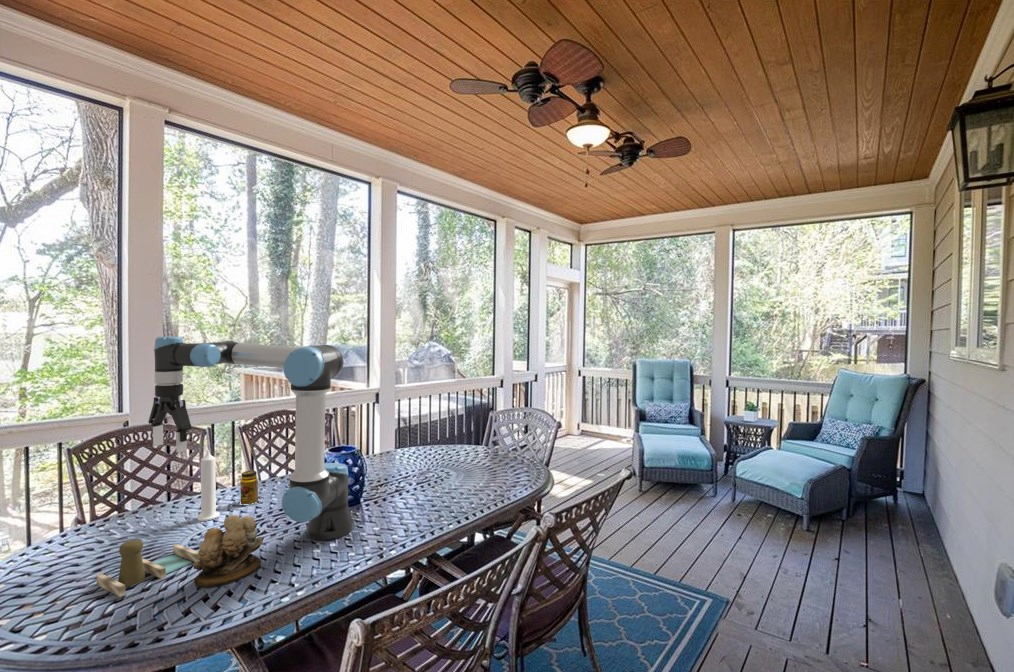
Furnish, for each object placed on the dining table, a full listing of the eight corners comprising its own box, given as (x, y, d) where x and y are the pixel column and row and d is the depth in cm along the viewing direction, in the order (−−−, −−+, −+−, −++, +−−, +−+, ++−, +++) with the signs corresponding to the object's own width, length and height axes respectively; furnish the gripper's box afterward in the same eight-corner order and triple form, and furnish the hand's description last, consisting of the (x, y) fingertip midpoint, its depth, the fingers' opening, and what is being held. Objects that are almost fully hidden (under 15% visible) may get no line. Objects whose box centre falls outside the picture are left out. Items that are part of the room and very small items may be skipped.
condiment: (238, 506, 183) (238, 475, 182) (240, 498, 191) (240, 469, 190) (259, 503, 186) (259, 473, 185) (261, 496, 193) (261, 467, 193)
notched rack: (231, 547, 150) (231, 539, 150) (120, 596, 123) (120, 587, 123) (208, 539, 156) (208, 531, 156) (96, 584, 128) (96, 575, 128)
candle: (192, 518, 171) (192, 450, 170) (212, 511, 177) (212, 446, 176) (204, 522, 168) (203, 453, 167) (224, 515, 174) (223, 448, 173)
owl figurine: (253, 554, 146) (254, 500, 146) (271, 567, 139) (272, 510, 138) (186, 578, 132) (187, 518, 131) (203, 594, 125) (203, 531, 124)
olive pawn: (114, 589, 127) (114, 548, 126) (120, 577, 132) (120, 539, 132) (142, 583, 129) (142, 544, 129) (147, 572, 135) (147, 535, 134)
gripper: (203, 385, 151) (204, 450, 152) (160, 379, 163) (161, 440, 163) (178, 388, 145) (179, 456, 145) (135, 382, 156) (136, 445, 157)
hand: (169, 448), depth 154 cm, fingers open, 13 cm apart
